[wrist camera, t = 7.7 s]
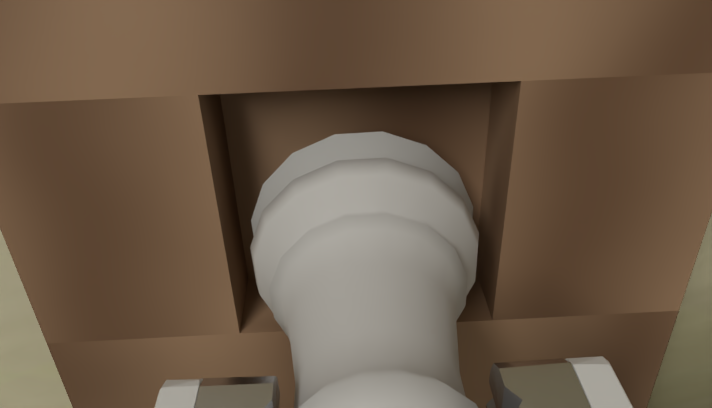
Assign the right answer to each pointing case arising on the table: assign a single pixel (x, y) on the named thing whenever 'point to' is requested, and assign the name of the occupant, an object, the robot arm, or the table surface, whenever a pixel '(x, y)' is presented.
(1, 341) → the table surface
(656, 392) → the table surface
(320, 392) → the rook chess piece
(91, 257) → the pallet board
